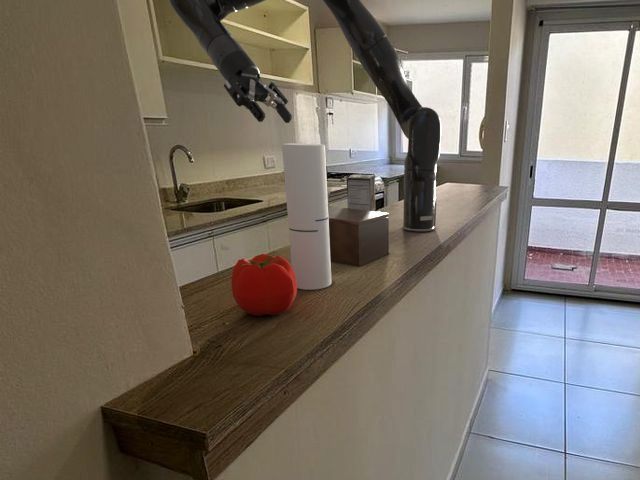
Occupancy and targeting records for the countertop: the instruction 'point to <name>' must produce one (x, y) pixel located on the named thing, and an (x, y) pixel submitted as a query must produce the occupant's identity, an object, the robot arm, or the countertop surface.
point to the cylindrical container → (308, 214)
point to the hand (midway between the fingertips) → (276, 119)
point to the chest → (359, 242)
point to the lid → (352, 215)
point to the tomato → (264, 285)
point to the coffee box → (361, 192)
